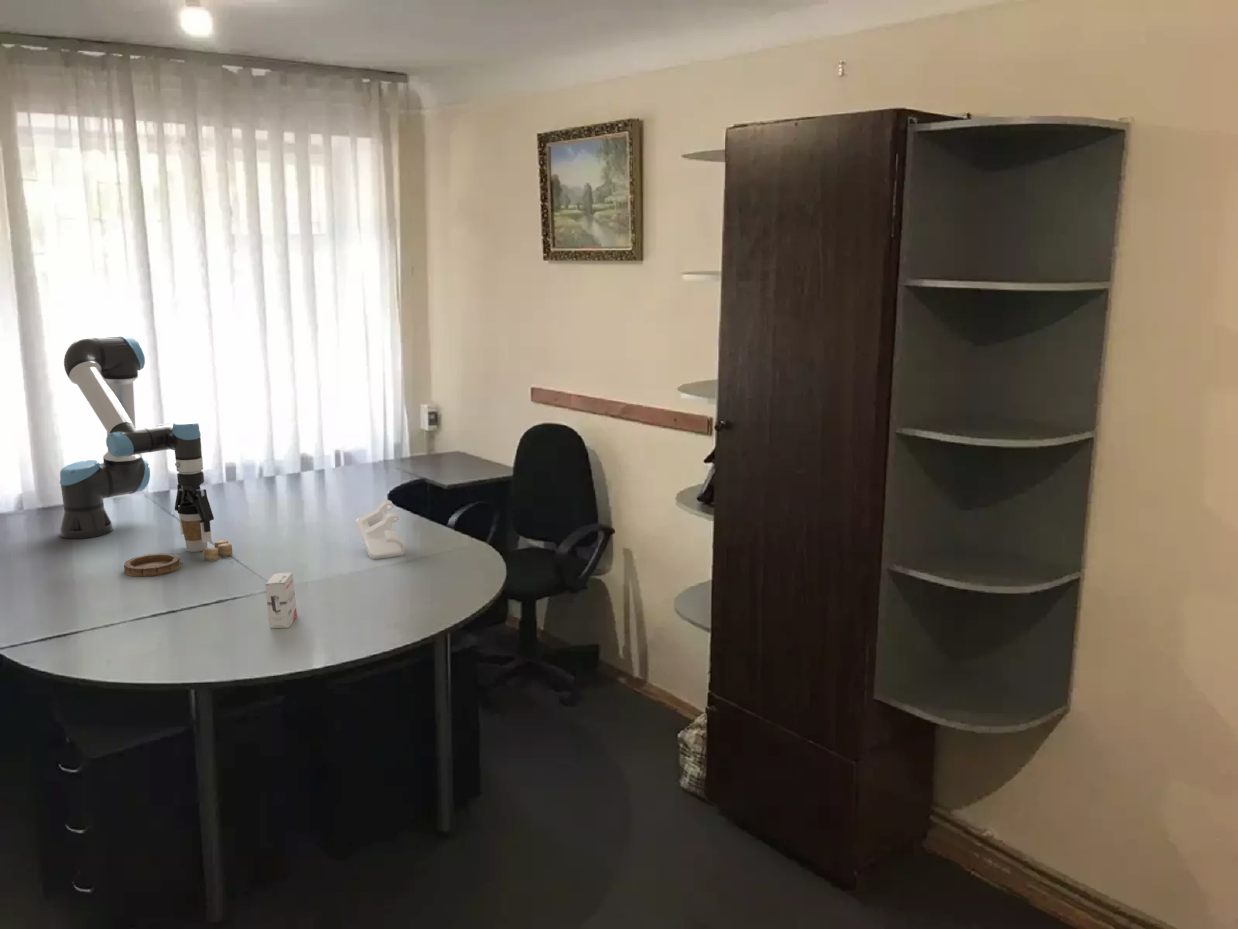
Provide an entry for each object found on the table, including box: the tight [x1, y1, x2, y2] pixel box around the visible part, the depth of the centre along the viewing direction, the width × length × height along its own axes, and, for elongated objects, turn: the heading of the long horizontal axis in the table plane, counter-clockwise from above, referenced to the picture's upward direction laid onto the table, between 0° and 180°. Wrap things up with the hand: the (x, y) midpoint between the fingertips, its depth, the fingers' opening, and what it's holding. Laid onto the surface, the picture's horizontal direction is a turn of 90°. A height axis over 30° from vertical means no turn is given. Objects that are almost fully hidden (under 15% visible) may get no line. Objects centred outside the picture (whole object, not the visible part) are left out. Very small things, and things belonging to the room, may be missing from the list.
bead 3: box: [218, 543, 233, 557], centre depth 297 cm, size 4×4×3 cm
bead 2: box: [214, 539, 229, 548], centre depth 300 cm, size 4×4×3 cm
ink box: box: [264, 572, 298, 629], centre depth 242 cm, size 9×5×12 cm, turn 5°
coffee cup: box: [179, 502, 208, 553], centre depth 301 cm, size 8×8×15 cm
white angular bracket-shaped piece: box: [355, 499, 406, 560], centre depth 302 cm, size 20×11×13 cm, turn 31°
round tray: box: [123, 552, 182, 578], centre depth 283 cm, size 15×15×2 cm
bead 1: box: [203, 547, 220, 562], centre depth 293 cm, size 4×4×3 cm
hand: (196, 537), depth 302 cm, fingers open, 13 cm apart
